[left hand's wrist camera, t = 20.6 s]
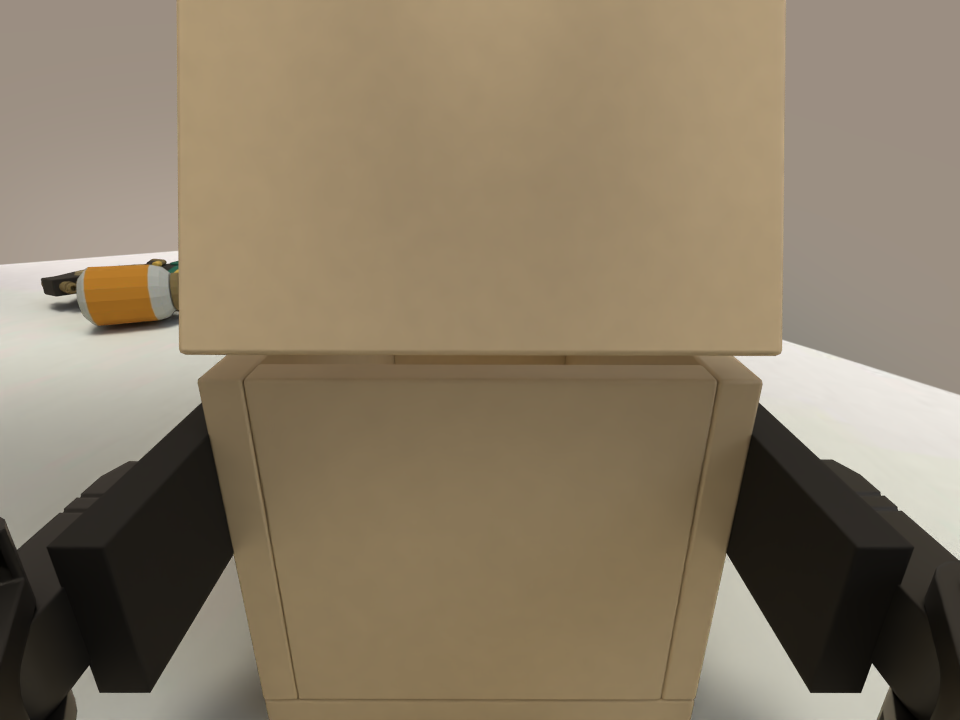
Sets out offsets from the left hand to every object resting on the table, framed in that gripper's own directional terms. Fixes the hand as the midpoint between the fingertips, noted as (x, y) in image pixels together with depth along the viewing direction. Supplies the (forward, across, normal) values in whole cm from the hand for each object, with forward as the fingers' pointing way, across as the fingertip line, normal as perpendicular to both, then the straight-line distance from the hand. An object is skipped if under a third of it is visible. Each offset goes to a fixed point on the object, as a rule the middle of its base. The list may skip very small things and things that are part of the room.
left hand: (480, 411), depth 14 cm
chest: (+5, 0, -6) cm, 8 cm away
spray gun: (+32, -27, -6) cm, 42 cm away
